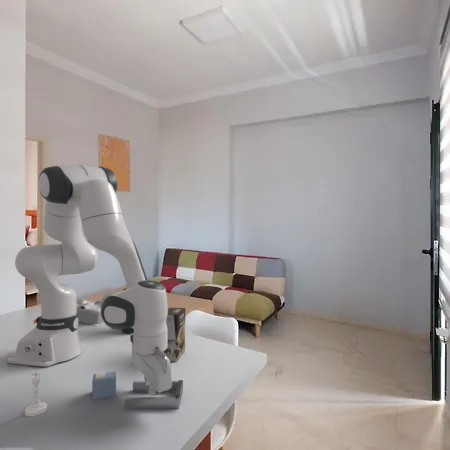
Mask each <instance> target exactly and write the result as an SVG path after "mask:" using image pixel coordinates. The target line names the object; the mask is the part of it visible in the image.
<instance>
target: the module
mask: <svg viewBox="0 0 450 450" xmlns="http://www.w3.org/2000/svg"><path fill="white" fill-rule="evenodd" d="M91 385H92V386H91V387H92V388H91V389H92V390H91V391H92V393H91V397H92V398H91V399H92V400H95V399H96V400H97V399H102V398H107V397H114V396H116V395H117V371H116V370H114V371H105V370H104V371H103V370H102V371H96V373H93V376H92V383H91Z"/></svg>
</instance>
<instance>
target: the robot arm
mask: <svg viewBox="0 0 450 450" xmlns="http://www.w3.org/2000/svg"><path fill="white" fill-rule="evenodd" d="M38 189H39V192H40V195H41V197H42V198H43V199H44V200H45V206H44V219H43V220H44V221H43V229H44V232H45V233H46V235H48V236H49V237H50V238H51V239H54V240H55V241H59V242H60V243H59V244H57V243H56V244H38V245H37V244H36V245H32V246H27V247H22V248H21V249H20V250H19V251H18V252H17V254H16V256H15V260H14V264H15V265H14V266H15V268H16V271H17V272H18V273H19V274H20V276H23V278H26V279H28V280H29V281H30V282H31V283H33V285H34V286H35V288H36V289H37V292H38V293H39V296H40V298H39V299H40V300H39V301H40V312H41V315H40V316H38V317H36V319H34V320H33V323H32V324H36V326H35V327H34V328H33V329H32V330H30V331H29V332H27V333H26V334H25V335H23V337H21V338H20V340H19V341H18V343H17V344H16V345H17V346H16V349H15V352H13V353H12V354H11V355H9V357H8V359H7V364H14V365H15V364H16V365H23V366H34V367H44V368H45V367H50V366H52V365H55V364H57V363H62V362H66V361H70V360H72V359H74V358H76V357H77V356H79V355H80V354H82V351H83V350H82V346H81V343H80V339H79V338H80V337H79V333H78V328H79V322H78V312H77V304H78V303H77V302H78V301H77V300H78V297H77V296H78V295H77V291H76V289H74V288H73V287H71V286H70V285H67V284H64V283H61V282H60V281H58V277H59V276H68V275H79V274H84V273H87V272H91V271H93V270H94V269H95V267H97V264H98V261H99V253H98V250H99V251H102V252H104V253H107V254H109V255H110V256H113V257H114V258H115V260H117V261H118V263H119V265H120V269H121V271H122V274H123V278H124V280H125V283H126V288H127V289H126V290H124V291H123V290H121V291H119V292H115V293H112V294H110V295H108V296H107V297H105V298H104V299H103V303H102V306H101V316H102V319H103V321H104V322H103V323H104V324H105V325H106V326H107V327H108V328H110V329H112V330H121V329H126V328H133V329H134V333H132V334H129V341H130V342H131V356H132V361H133V364H134V365H135V367H136V368H137V369H138V370H139V371H140V373H141V374H142V376H143V381H145V384H146V391H147V392H146V393H148V395H149V397H152V396H154V395H156V393H162V392H168V391H167V390H169V389H170V388H171V386H172V381H173V380H172V379H173V377H172V365H171V364H172V363H171V361H170V360H169V358H168V357H167V356H166V355H165V353H164V352H163V351H164V350H166V349H167V346H168V329H167V325H166V318H167V315H168V308H169V307H168V294H167V290H166V287H165V285H164V284H162V283H161V282H159V281H155V280H149V279H148V278H147V274H146V272H145V269H144V266H143V262H142V260H141V256H140V254H139V251H138V248H137V246H136V244H135V241H134V239H133V237H131V234H130V233H129V231H128V228H127V226H126V222H125V220H124V219H125V218H124V216H123V211H122V208H121V205H120V201H119V199H118V195H117V193H116V192H117V190H118V179H117V176H116V174H115V173H114V171H113V170H112V169H110V168H108V167H105V166H91V165H80V164H78V165H65V166H64V165H63V166H58V165H54V166H49V167H48V166H47V167H45V168H43V169H42V170H41V172H40V174H39V177H38ZM82 231H83V233H82ZM83 234H84V236H83ZM84 237H85V238H84ZM156 391H157V392H156Z"/></svg>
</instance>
